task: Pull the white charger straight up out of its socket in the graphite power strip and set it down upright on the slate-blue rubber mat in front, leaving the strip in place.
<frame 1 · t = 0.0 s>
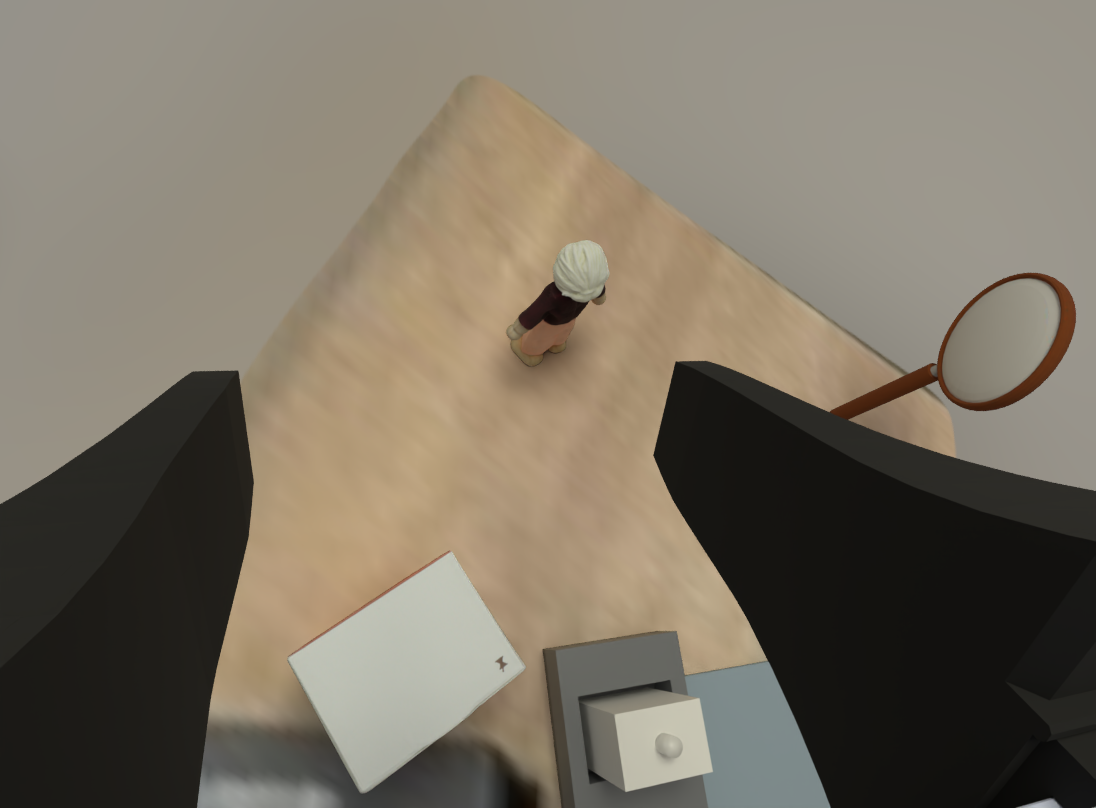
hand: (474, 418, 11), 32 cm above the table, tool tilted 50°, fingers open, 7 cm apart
charger: (616, 725, 40), resting on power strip
mat: (764, 762, 42), on the table
small box: (397, 652, 39), on the table
magnifying glass: (825, 421, 53), on the table
grandmother figurine: (533, 346, 48), on the table
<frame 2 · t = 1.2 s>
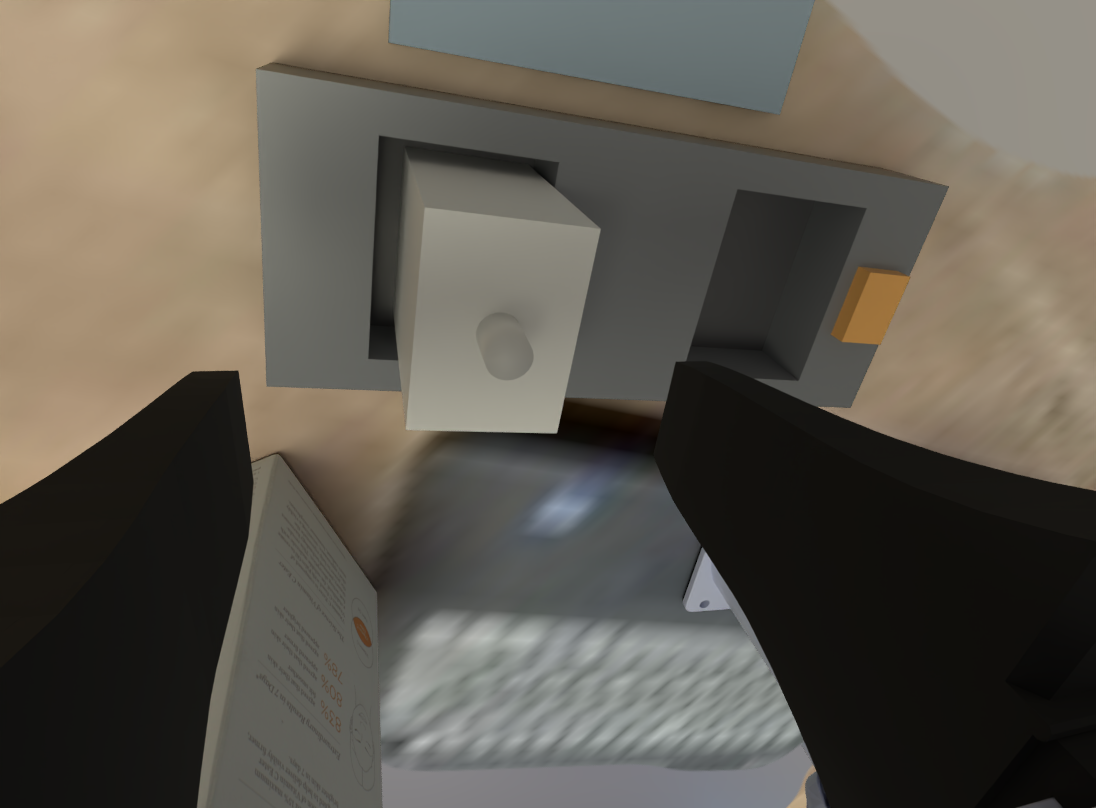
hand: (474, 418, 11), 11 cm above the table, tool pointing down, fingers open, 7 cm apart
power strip: (592, 246, 22), on the table
charger: (458, 240, 20), point 1 cm above the table
small box: (256, 555, 25), on the table
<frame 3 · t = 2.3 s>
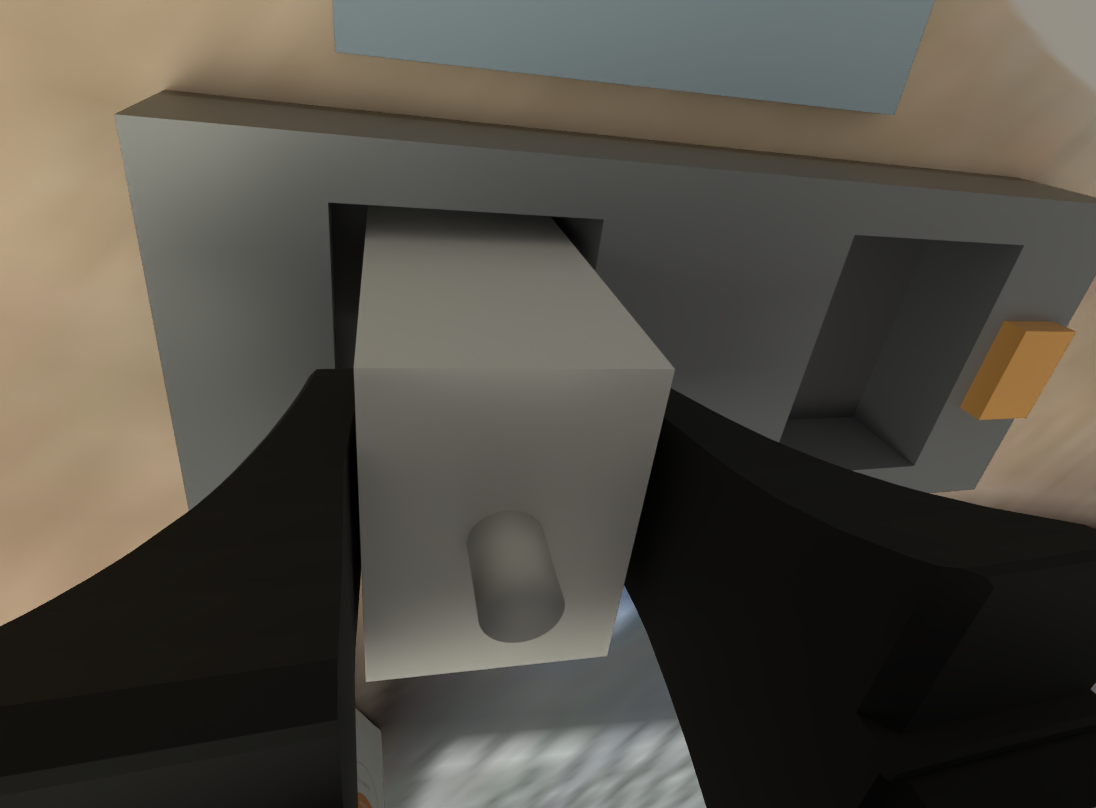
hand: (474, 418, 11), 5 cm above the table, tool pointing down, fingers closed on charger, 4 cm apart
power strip: (636, 305, 16), on the table
charger: (455, 323, 14), point 1 cm above the table, touching gripper
small box: (225, 708, 19), on the table
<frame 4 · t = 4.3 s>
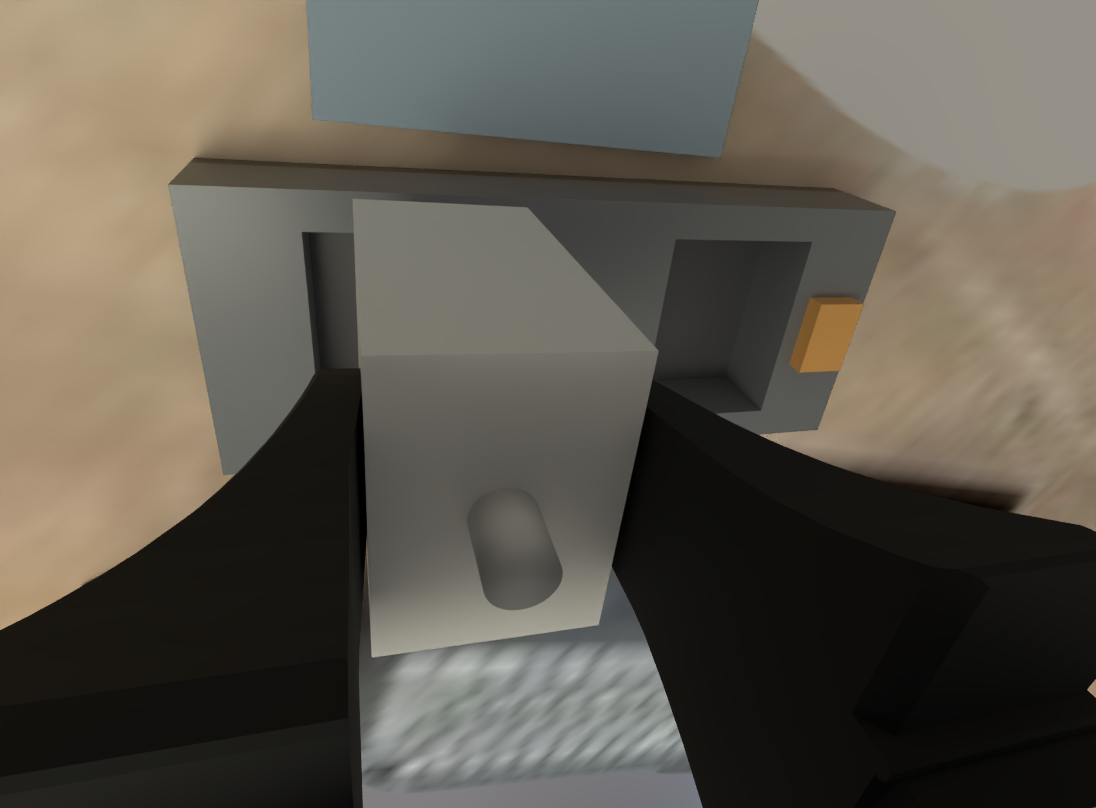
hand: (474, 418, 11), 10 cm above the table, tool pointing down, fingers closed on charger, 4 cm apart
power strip: (543, 294, 22), on the table
charger: (439, 315, 15), point 6 cm above the table, touching gripper
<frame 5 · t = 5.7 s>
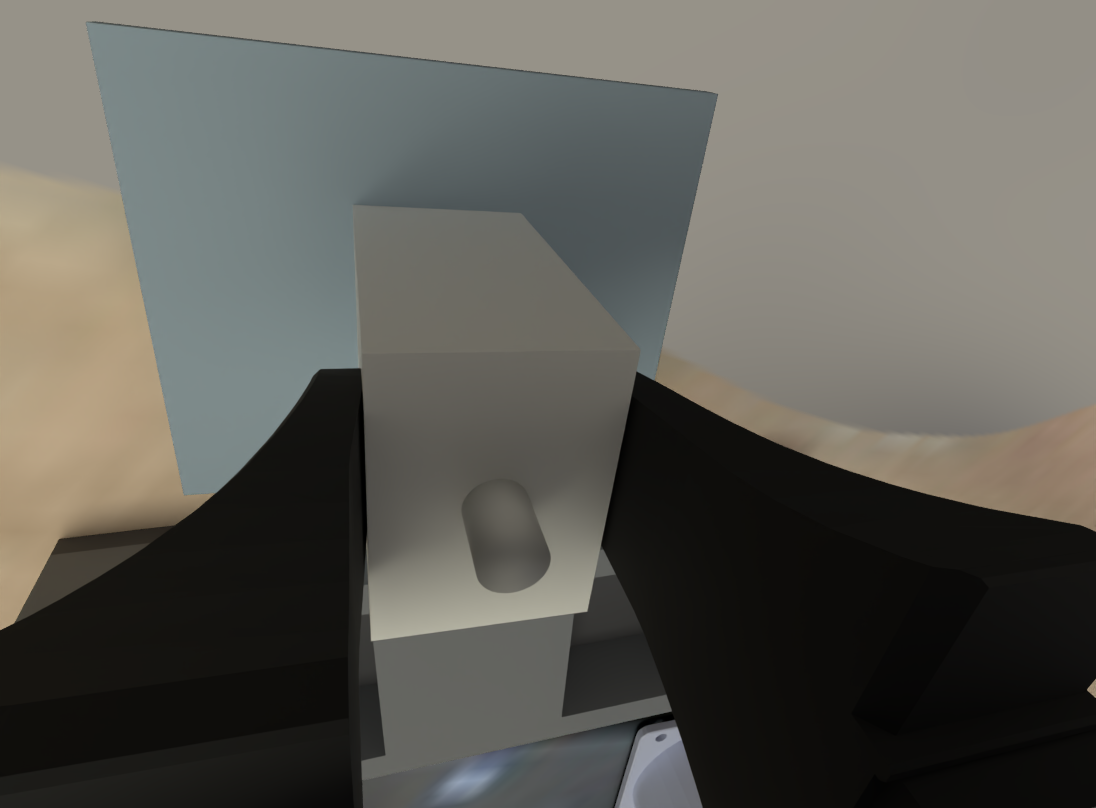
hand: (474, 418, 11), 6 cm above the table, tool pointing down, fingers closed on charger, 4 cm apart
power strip: (458, 581, 21), on the table
charger: (436, 316, 15), resting on mat, touching gripper
mat: (434, 296, 15), on the table
when the fingers open (5 cm above the table, at t = 6.1 s): charger stays where it is, resting on mat.
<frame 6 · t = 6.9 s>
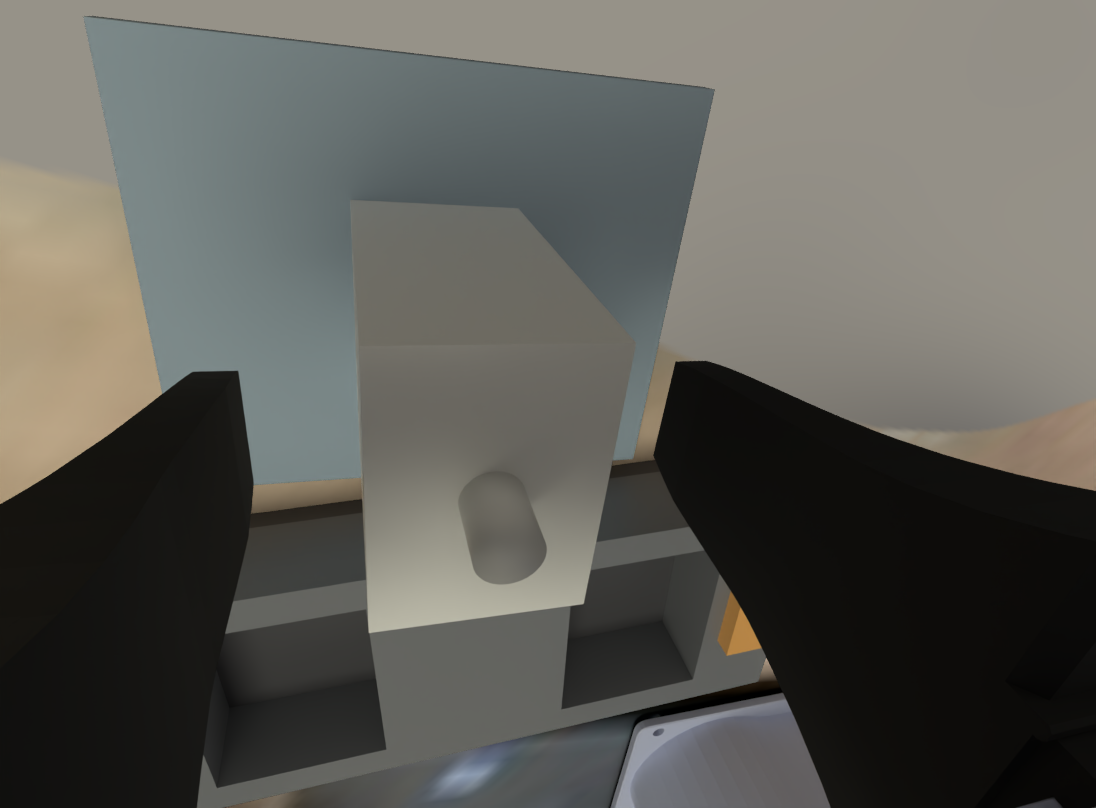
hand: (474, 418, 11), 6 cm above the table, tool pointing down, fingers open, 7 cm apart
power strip: (457, 575, 21), on the table
charger: (434, 311, 15), resting on mat
mat: (432, 291, 15), on the table
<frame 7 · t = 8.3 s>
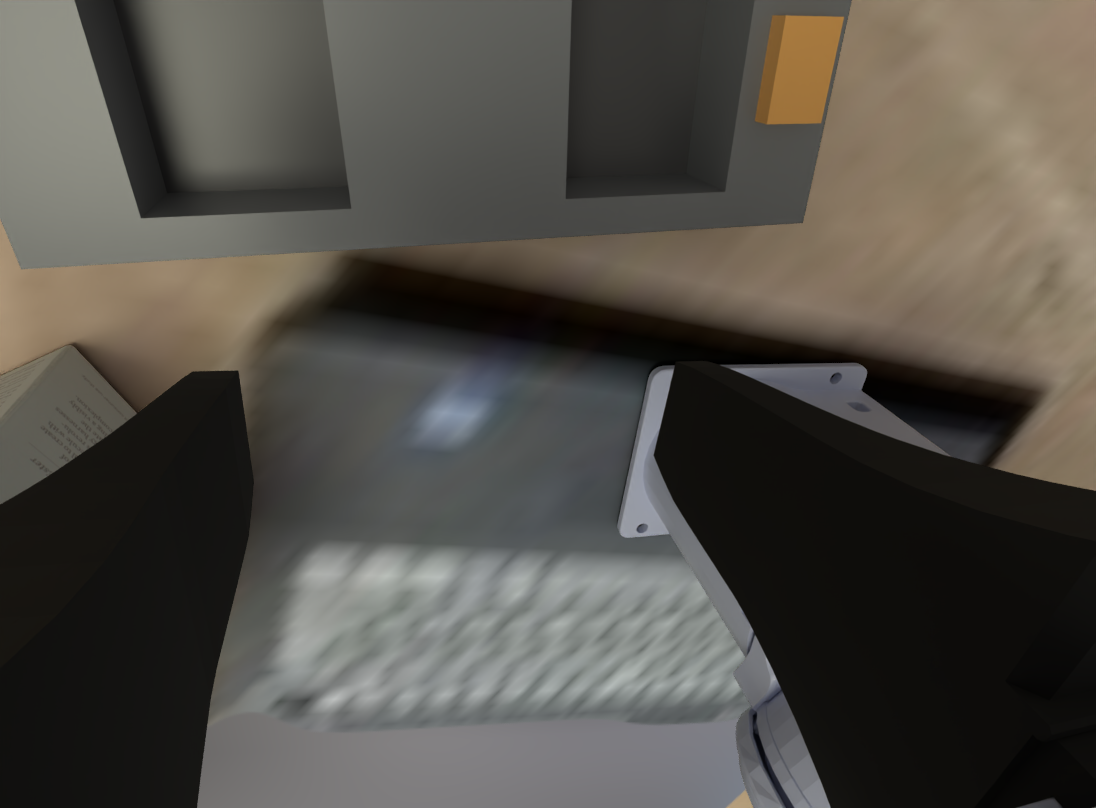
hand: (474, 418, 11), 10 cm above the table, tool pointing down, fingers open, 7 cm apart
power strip: (438, 60, 18), on the table
small box: (79, 478, 21), on the table
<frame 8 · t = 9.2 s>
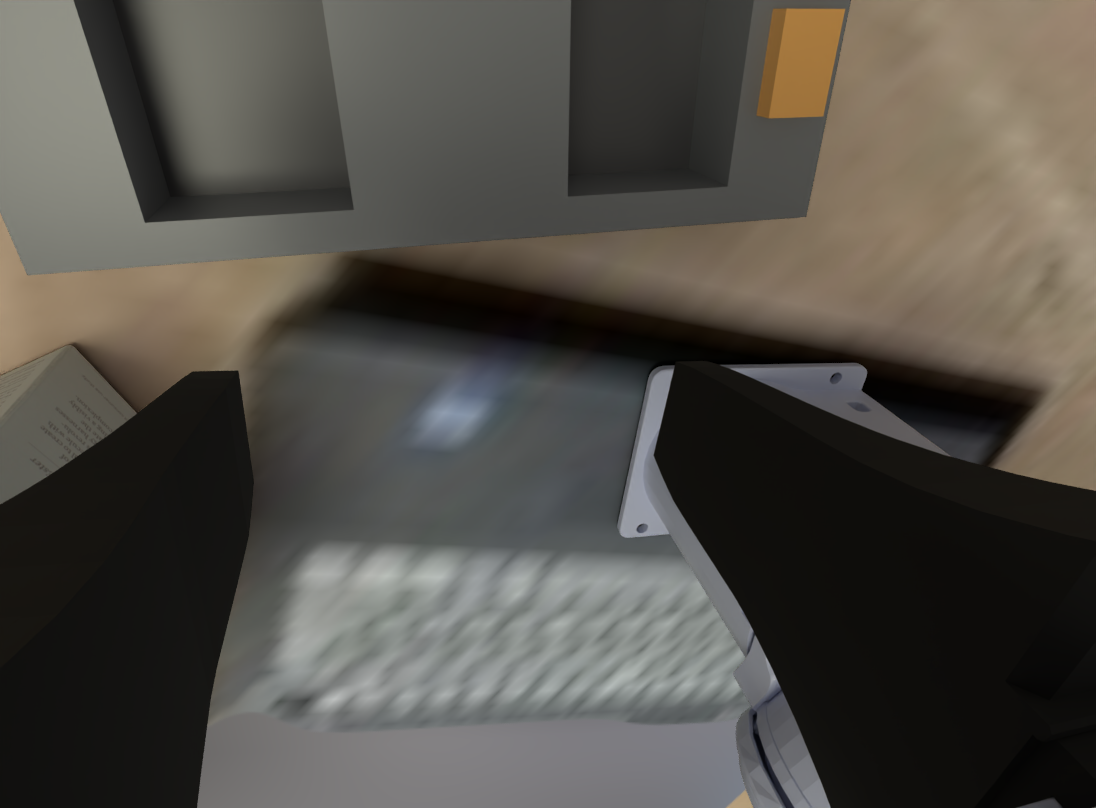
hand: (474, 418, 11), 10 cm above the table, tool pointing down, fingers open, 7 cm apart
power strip: (438, 60, 18), on the table
small box: (79, 478, 21), on the table
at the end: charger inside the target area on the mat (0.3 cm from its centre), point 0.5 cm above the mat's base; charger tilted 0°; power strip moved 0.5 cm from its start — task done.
